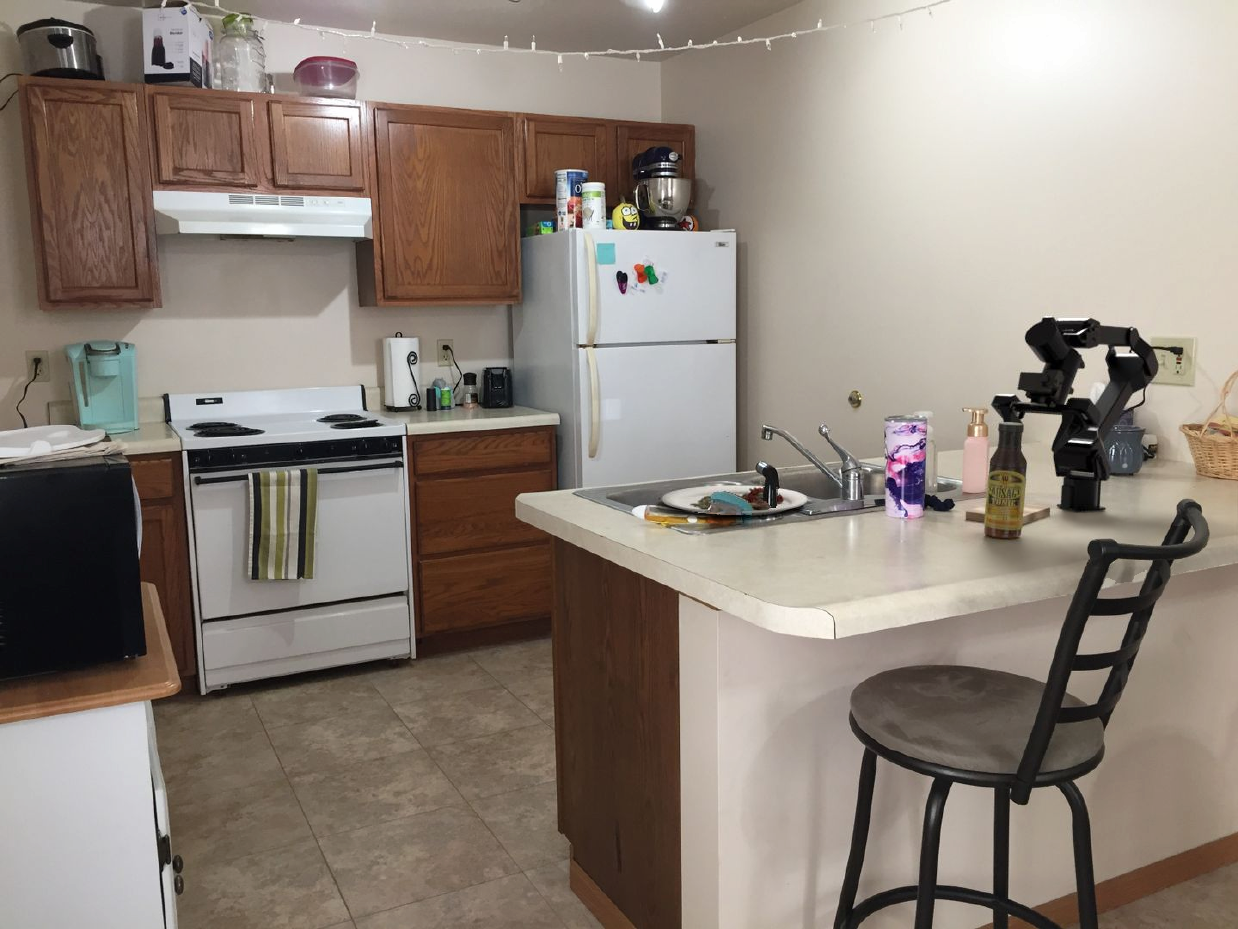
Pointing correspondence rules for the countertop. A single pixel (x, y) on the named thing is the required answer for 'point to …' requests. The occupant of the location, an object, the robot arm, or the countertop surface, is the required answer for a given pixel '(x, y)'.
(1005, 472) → the sauce bottle
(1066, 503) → the robot arm
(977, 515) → the oak cutting board
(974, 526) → the countertop surface
